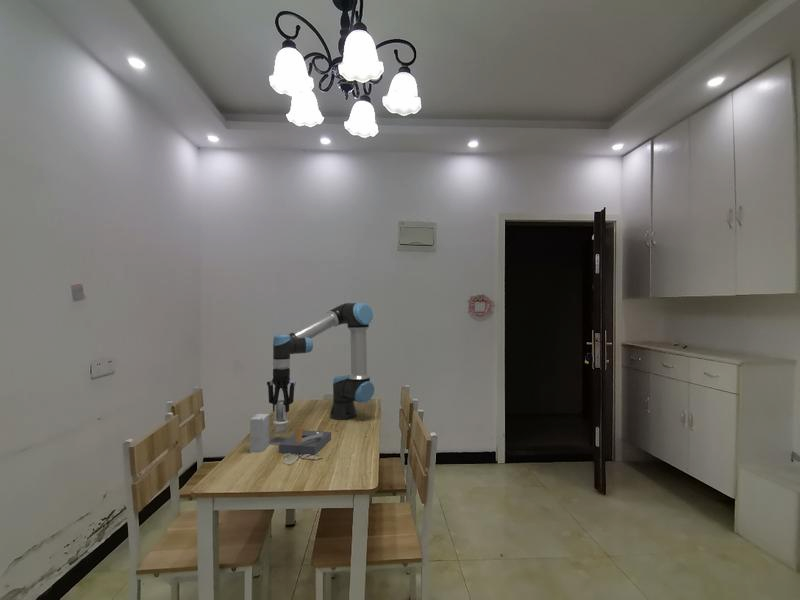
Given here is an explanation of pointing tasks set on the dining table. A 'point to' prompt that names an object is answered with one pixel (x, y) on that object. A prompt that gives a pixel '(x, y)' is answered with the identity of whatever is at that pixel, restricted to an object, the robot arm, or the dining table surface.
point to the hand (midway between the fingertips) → (280, 418)
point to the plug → (280, 418)
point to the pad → (277, 440)
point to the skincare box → (259, 433)
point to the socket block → (305, 443)
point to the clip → (300, 439)
